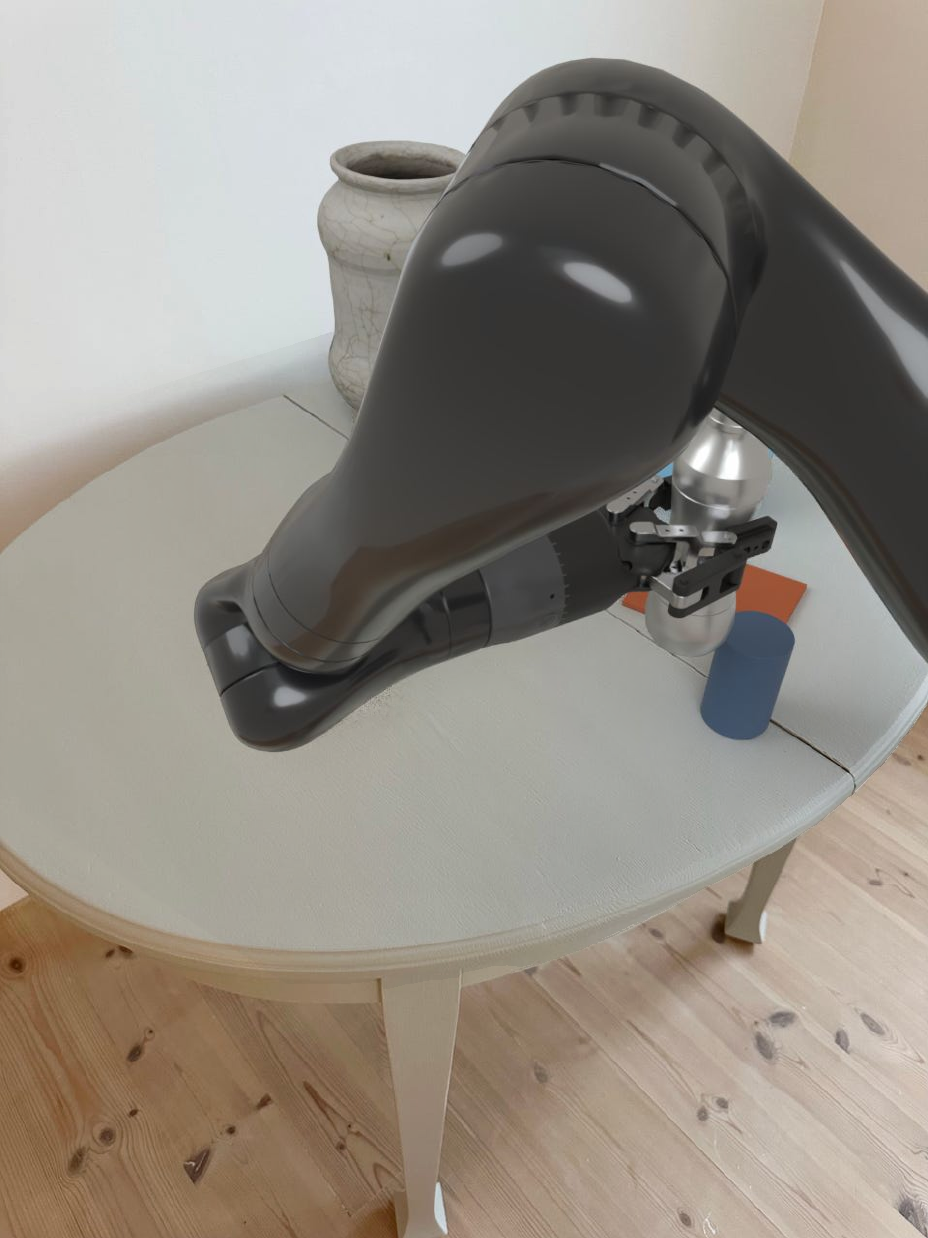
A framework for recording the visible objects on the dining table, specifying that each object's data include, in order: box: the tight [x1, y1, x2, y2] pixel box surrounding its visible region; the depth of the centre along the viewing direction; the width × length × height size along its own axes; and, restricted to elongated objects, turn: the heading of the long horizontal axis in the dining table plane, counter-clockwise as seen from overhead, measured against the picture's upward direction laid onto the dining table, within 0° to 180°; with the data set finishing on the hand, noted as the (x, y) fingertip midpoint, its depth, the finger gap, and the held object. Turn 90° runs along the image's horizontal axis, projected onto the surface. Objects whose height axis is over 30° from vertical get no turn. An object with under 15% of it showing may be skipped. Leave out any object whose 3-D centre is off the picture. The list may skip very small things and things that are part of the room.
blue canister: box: [699, 611, 796, 741], centre depth 76 cm, size 6×6×9 cm
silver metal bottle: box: [644, 408, 773, 658], centre depth 65 cm, size 6×7×20 cm
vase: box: [316, 140, 466, 424], centre depth 107 cm, size 18×18×30 cm
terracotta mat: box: [621, 563, 808, 624], centre depth 91 cm, size 14×12×1 cm
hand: (737, 505), depth 65 cm, fingers closed on silver metal bottle, 6 cm apart
